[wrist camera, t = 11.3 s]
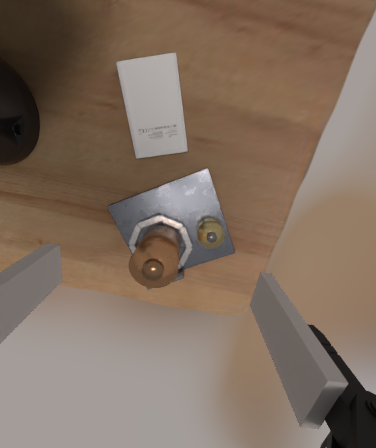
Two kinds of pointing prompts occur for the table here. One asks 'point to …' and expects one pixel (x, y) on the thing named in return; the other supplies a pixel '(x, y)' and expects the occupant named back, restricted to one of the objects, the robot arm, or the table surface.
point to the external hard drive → (153, 104)
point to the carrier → (178, 219)
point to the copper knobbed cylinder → (156, 257)
